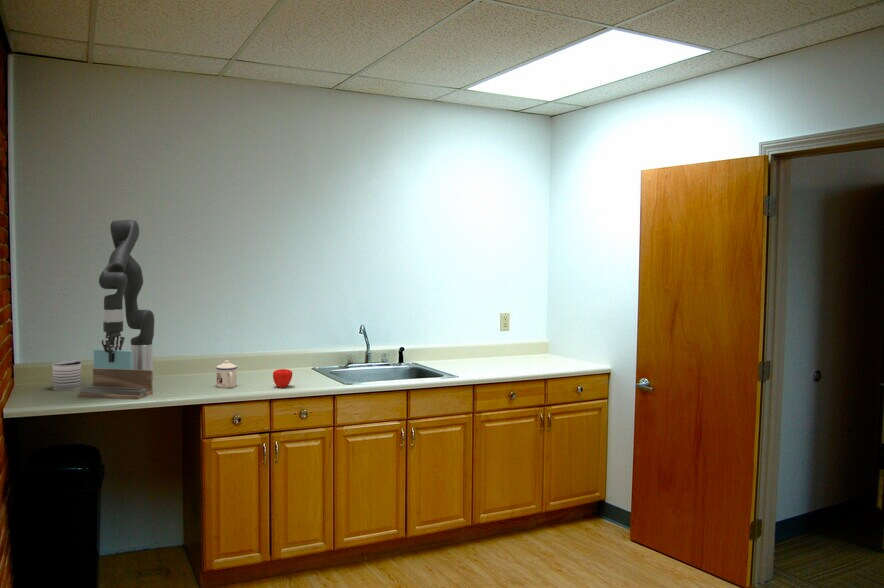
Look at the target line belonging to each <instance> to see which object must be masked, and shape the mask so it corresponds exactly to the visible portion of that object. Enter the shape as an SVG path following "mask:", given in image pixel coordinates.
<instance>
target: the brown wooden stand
mask: <svg viewBox="0 0 884 588" xmlns="http://www.w3.org/2000/svg"><path fill="white" fill-rule="evenodd" d="M153 380H154V369H153V370H126V369H103V368H94V367H93V368H92V385H91V386H90V385H88V386H84V387H81V388H79V390H80V391H79V392H80V393H79V392H78V393H77V397H78V396H83V397H82V398H96V397H101V398H102V399H118V398H119V399H120V400H121V399H122V400H123V399H124V400H139V399H142V398H145V397H147V396H149V395H150V396H151V395H153V393H154V391H153V390H154V389H153V386H154V385H153Z"/></svg>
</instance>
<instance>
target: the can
mask: <svg viewBox="0 0 884 588" xmlns="http://www.w3.org/2000/svg"><path fill="white" fill-rule="evenodd" d="M81 361H82V359H73V360H63V361H62V360H61V361H58V362H57V361H56V362H53V363H52V364H51V366H52V368H51V369H52V370H51V371H52V376H51V377H52V389H53V391H58V390H66V391H73V390H74V389H75V390H80V389H81V388H82V362H81ZM75 390H74V391H75Z"/></svg>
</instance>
